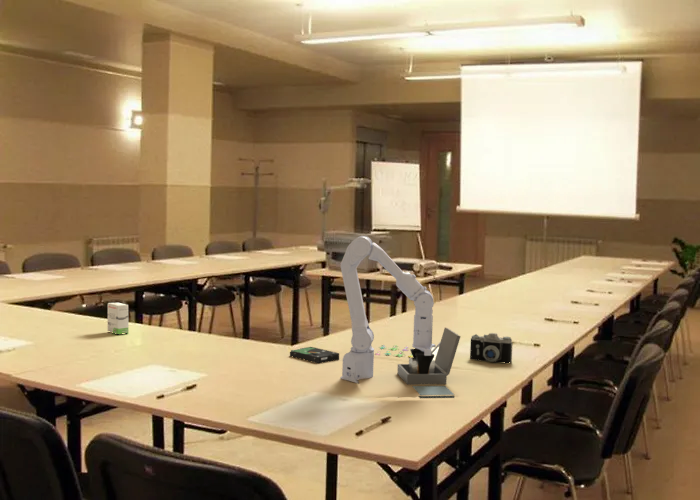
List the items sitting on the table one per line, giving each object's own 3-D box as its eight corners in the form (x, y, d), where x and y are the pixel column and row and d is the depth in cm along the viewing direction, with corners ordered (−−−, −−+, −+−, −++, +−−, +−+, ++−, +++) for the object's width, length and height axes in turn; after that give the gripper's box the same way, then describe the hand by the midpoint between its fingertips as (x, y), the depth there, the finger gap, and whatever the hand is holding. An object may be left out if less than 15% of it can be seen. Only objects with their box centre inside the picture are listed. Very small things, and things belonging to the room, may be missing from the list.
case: (407, 387, 227) (408, 335, 226) (396, 375, 241) (398, 326, 240) (458, 387, 229) (460, 335, 228) (445, 375, 244) (447, 326, 243)
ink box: (128, 334, 299) (129, 304, 298) (117, 335, 295) (117, 305, 295) (118, 331, 305) (118, 301, 304) (106, 332, 302) (106, 302, 301)
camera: (466, 361, 267) (467, 332, 266) (471, 357, 273) (472, 330, 272) (508, 365, 261) (510, 337, 260) (512, 362, 267) (513, 334, 266)
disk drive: (339, 361, 264) (310, 353, 274) (340, 353, 263) (310, 345, 274) (318, 365, 256) (288, 357, 267) (318, 357, 256) (289, 349, 266)
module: (411, 380, 232) (412, 361, 231) (408, 376, 236) (409, 357, 236) (434, 380, 233) (434, 360, 232) (430, 376, 237) (431, 357, 237)
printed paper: (432, 364, 261) (433, 359, 261) (347, 359, 267) (347, 355, 267) (440, 347, 291) (440, 343, 291) (362, 344, 297) (362, 340, 297)
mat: (420, 398, 215) (420, 394, 215) (412, 389, 225) (412, 386, 225) (454, 398, 216) (454, 394, 216) (444, 389, 226) (445, 385, 226)
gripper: (441, 334, 227) (440, 379, 228) (429, 326, 241) (428, 368, 242) (418, 334, 226) (417, 379, 227) (407, 326, 240) (406, 368, 241)
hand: (421, 374), depth 234 cm, fingers closed on module, 5 cm apart
